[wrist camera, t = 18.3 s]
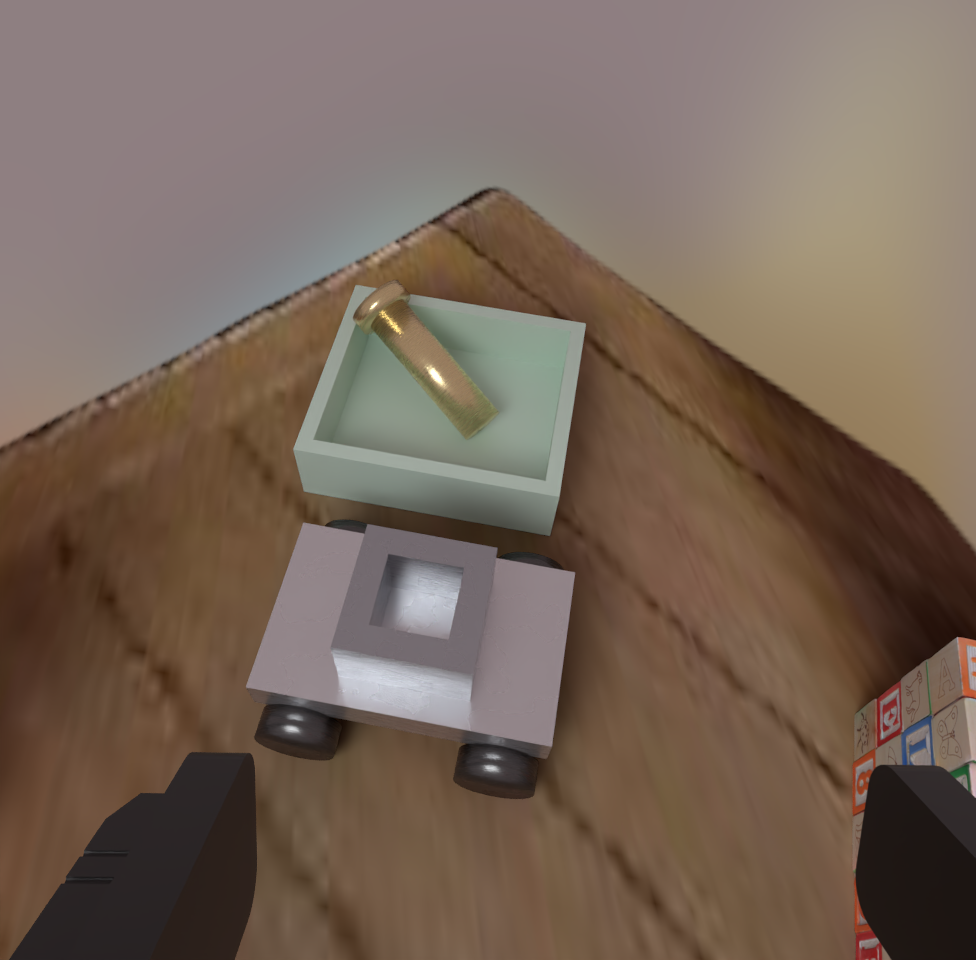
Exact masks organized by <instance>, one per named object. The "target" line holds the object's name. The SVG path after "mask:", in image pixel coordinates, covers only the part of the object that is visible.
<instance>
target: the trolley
mask: <svg viewBox="0 0 976 960" xmlns="http://www.w3.org/2000/svg"><path fill="white" fill-rule="evenodd" d="M497 550H498V548H496V547H490V546H485V545H479V544H474V543H468V542H463V541H457V540H452V539H446V538H441V537H436V536H430V535H425V534H419V533H414V532H408V531H403V530H397V529H392V528H386V527H381V526H375V525H370V524H366V523H362V522H359V521H353V520H335V521H331V522H329V523H327V524H326V525H325V526H319V525H314V524H308V523H303V526H302V529H301V531H300V534H299V537H298V540H297V543H296V546H295V548H294V551H293V554H292V557H291V560H290V563H289V566H288V568H287V571H286V574H285V577H284V580H283V583H282V586H281V588H280V591H279V594H278V597H277V600H276V603H275V606H274V608H273V611H272V614H271V617H270V620H269V623H268V625H267V628H266V631H265V634H264V637H263V640H262V643H261V645H260V648H259V651H258V654H257V657H256V660H255V663H254V665H253V668H252V671H251V674H250V677H249V680H248V683H247V685H246V688H247V690H248V692H249V693H250V695H251V697H252V698H253V700H254V702H258V703H263V704H268V705H267V706H265V707H264V709H263V712H262V715H261V718H260V721H259V724H258V727H257V730H256V733H255V736H254V739H255V740H256V741H257V742H258V743H259V744H261V745H263V746H265V747H267V748H269V749H271V750H274V751H277V752H280V753H283V754H286V755H290V756H294V757H298V758H304V759H310V760H330V759H332V758H333V757H334V754H335V751H336V747H337V743H338V740H339V736H340V733H341V729H342V726H341V724H340V723H339V722H338V721H337V720H335V719H333V718H332V717H334V718H339V719H344V720H349V721H355V722H360V723H365V724H370V725H375V726H380V727H385V728H390V729H395V730H401V731H406V732H411V733H416V734H421V735H426V736H431V737H436V738H441V739H446V740H452V741H457V742H462V743H467V744H466V745H463V746H461V747H460V748H459V752H458V757H457V762H456V767H455V773H454V778H453V780H454V782H455V783H457V784H458V785H460V786H461V787H464V788H466V789H468V790H471V791H474V792H477V793H481V794H485V795H489V796H495V797H501V798H510V799H525V798H530V797H532V796H534V792H535V785H536V778H537V770H538V761H537V760H536V759H535V758H534V757H538V758H544V759H547V757H548V755H549V753H550V750H551V748H552V743H553V735H554V728H555V720H556V713H557V705H558V698H559V690H560V683H561V675H562V668H563V660H564V653H565V645H566V638H567V630H568V623H569V615H570V608H571V600H572V593H573V585H574V578H575V572H570V571H565V570H564V569H563V568H562V566H561V565H560V564H558V563H557V562H556V561H554V560H552V559H550V558H548V557H545V556H542V555H539V554H534V553H527V552H514V553H508V554H505V555H502V556H500V557H499V558H496V557H497ZM532 756H533V757H532Z"/></svg>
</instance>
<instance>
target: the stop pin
mask: <svg viewBox="0 0 976 960" xmlns="http://www.w3.org/2000/svg"><path fill="white" fill-rule="evenodd" d="M410 298H411V295H410V293H409V292H408V291H407V290H406V289H405V288H404V286H403V285H402V284H401V283H400V282H399V281H398V280H393V281H390V282H387V283H385V284H384V285H382V286H380V287H379V288H377V289H376V290H375V291H374V292H372V293H371V294H370V295H369V296H368V297H367V298H366V299H365V300H364V301H363V302H362V303H361V304H360V305H359V307H358V308H357V309H356V311H355V313H354V315H353V321H354V322H355V323H356V324H357V325H358V326H359V328H360V329H361V330H362V331H363V332H364V334H366V335H369V334H372V333H376V334H377V336H378V337H379V338H380V339H381V340H382V341H383V343H384V344H385V345H386V346H387V347H388V349H389V350H390V351H391V352H392V353H393V354H394V356H395V357H396V358H397V359H398V360H399V361H400V363H401V364H402V365H403V366H404V367H405V369H406V370H407V371H408V372H409V373H410V374H411V376H412V377H413V378H414V379H415V380H416V382H417V383H418V384H419V385H420V386H421V387H422V389H423V390H424V391H425V392H426V393H427V394H428V396H429V397H430V398H431V399H432V400H433V402H434V403H435V404H436V405H437V406H438V407H439V409H440V410H441V411H442V412H443V413H444V414H445V416H446V417H447V418H448V419H449V420H450V422H451V423H452V424H453V425H454V426H455V427H456V429H457V430H458V431H459V432H460V433H461V434H462V436H463V437H464V438H465V439H466V440H469V439H470V438H472V437H473V436H475V435H476V434H477V433H478V432H480V431H481V430H482V429H483V428H485V427H486V426H487V425H488V424H489V423H490V422H491V421H492V420H493V419H494V418H495V417H496V416H497V415H498V414H499V411H498V410H497V409H496V408H495V406H494V405H493V404H492V403H491V402H490V401H489V399H488V398H487V397H486V396H485V395H484V393H483V392H482V391H481V390H480V389H479V388H478V386H477V385H476V384H475V383H474V382H473V381H472V379H471V378H470V377H469V376H468V375H467V374H466V372H465V371H464V370H463V369H462V368H461V367H460V365H459V364H458V363H457V362H456V361H455V360H454V358H453V357H452V356H451V355H450V354H449V352H448V351H447V350H446V349H445V348H444V347H443V345H442V344H441V343H440V342H439V341H438V340H437V338H436V337H435V336H434V335H433V334H432V333H431V331H430V330H429V329H428V328H427V327H426V326H425V324H424V323H423V322H422V321H421V320H420V319H419V317H418V316H417V315H416V314H415V313H414V311H413V310H412V309H411V308H410V307H409V306H408V302H409V300H410Z"/></svg>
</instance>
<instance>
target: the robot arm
mask: <svg viewBox="0 0 976 960" xmlns="http://www.w3.org/2000/svg"><path fill="white" fill-rule="evenodd" d="M256 872H257V842H256V798H255V767H254V760H253V757H252V755H251V754H250V753H208V752H192V753H190V754H188V756H187V757H186V758H185V760H184V762H183V763H182V765H181V767H180V768H179V770H178V772H177V773H176V775H175V777H174V778H173V780H172V782H171V783H170V785H169V787H168V788H167V790H166V792H165V793H164V794H159V793H140V794H139V795H138V796H136V797H135V798H134V799H132V800H131V801H130V802H128V803H127V804H126V805H124V806H123V807H121V808H120V809H119V810H117V811H116V812H115V813H113V814H112V815H111V816H109V817H108V818H106V819H105V821H104V822H103V824H102V825H101V827H100V828H99V829H98V831H97V832H96V834H95V835H94V837H93V838H92V840H91V841H90V843H89V844H88V846H87V847H86V848H85V850H84V855H83V857H79V859H78V860H77V862H76V863H75V864H74V866H73V867H72V869H71V870H70V872H69V873H68V875H67V876H66V881H65V884H61V885H60V886H59V888H58V889H57V891H56V892H55V894H54V895H53V897H52V898H51V899H50V901H49V902H48V904H47V905H46V907H45V908H44V910H43V911H42V913H41V914H40V915H39V917H38V918H37V920H36V921H35V923H34V924H33V926H32V927H31V929H30V930H29V932H28V933H27V934H26V936H25V937H24V939H23V940H22V942H21V943H20V945H19V946H18V948H17V949H16V950H15V952H14V953H13V955H12V956H11V958H10V959H9V960H235V957H236V954H237V951H238V948H239V945H240V942H241V939H242V936H243V933H244V931H245V928H246V925H247V922H248V919H249V915H250V912H251V908H252V903H253V897H254V891H255V883H256ZM855 879H856V889H857V895H858V900H859V904H860V907H861V910H862V913H863V915H864V917H865V919H866V922H867V923H868V925H869V927H870V928H871V930H872V931H873V933H874V934H875V936H876V937H877V939H878V940H879V942H880V943H881V945H882V946H883V948H884V949H885V951H886V952H887V954H888V955H889V957H890V958H891V960H976V798H975V797H974V796H973V795H972V794H971V793H970V792H969V791H968V790H967V789H966V788H965V787H964V786H963V785H962V784H961V783H960V782H959V781H958V780H956V779H955V778H954V777H953V776H952V775H951V774H950V773H949V772H948V771H947V770H946V769H944V768H942V767H940V766H936V765H879V766H877V767H876V768H875V769H874V770H873V772H872V773H871V776H870V779H869V784H868V790H867V797H866V803H865V810H864V817H863V823H862V830H861V837H860V843H859V850H858V857H857V863H856V872H855Z"/></svg>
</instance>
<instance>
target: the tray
mask: <svg viewBox="0 0 976 960" xmlns="http://www.w3.org/2000/svg"><path fill="white" fill-rule="evenodd" d="M376 289H377V288H371V287H365V286H359V285H356V286H355V288H354V291H353V294H352V296H351V299H350V302H349V304H348V307H347V309H346V312H345V315H344V317H343V320H342V323H341V325H340V328H339V330H338V333H337V336H336V338H335V341H334V344H333V346H332V349H331V351H330V354H329V357H328V359H327V362H326V365H325V367H324V370H323V372H322V375H321V378H320V380H319V383H318V386H317V388H316V391H315V394H314V396H313V399H312V401H311V404H310V407H309V409H308V412H307V415H306V417H305V420H304V422H303V425H302V428H301V430H300V433H299V436H298V438H297V441H296V443H295V446H294V449H293V450H294V454H295V458H296V462H297V466H298V470H299V474H300V478H301V482H302V486H303V490H304V492H309V493H315V494H320V495H326V496H331V497H337V498H342V499H348V500H353V501H359V502H364V503H370V504H375V505H381V506H387V507H392V508H398V509H403V510H409V511H414V512H420V513H425V514H431V515H436V516H442V517H447V518H453V519H458V520H464V521H469V522H475V523H480V524H486V525H491V526H497V527H502V528H508V529H513V530H519V531H524V532H530V533H535V534H541V535H546V536H550V534H551V530H552V526H553V522H554V518H555V513H556V509H557V505H558V501H559V496H560V490H561V483H562V477H563V470H564V464H565V457H566V451H567V444H568V438H569V431H570V425H571V418H572V412H573V405H574V399H575V392H576V386H577V379H578V373H579V366H580V360H581V353H582V347H583V340H584V334H585V327H586V323H580V322H574V321H568V320H562V319H556V318H550V317H544V316H538V315H532V314H526V313H520V312H514V311H509V310H503V309H497V308H491V307H485V306H479V305H473V304H467V303H461V302H455V301H449V300H443V299H437V298H431V297H425V296H419V295H413V294H410V295H411V298H410V300H409V302H408V306H409V307H410V308H411V309H412V310H413V311H414V313H415V314H416V315H417V316H418V317H419V319H420V320H421V321H422V322H423V323H424V324H425V326H426V327H427V328H428V329H429V330H430V331H431V333H432V334H433V335H434V336H435V337H436V338H437V340H438V341H439V342H440V343H441V344H442V345H443V347H444V348H445V349H446V350H447V351H448V352H449V354H450V355H451V356H452V357H453V358H454V360H455V361H456V362H457V363H458V364H459V365H460V367H461V368H462V369H463V370H464V371H465V372H466V374H467V375H468V376H469V377H470V378H471V379H472V381H473V382H474V383H475V384H476V385H477V386H478V388H479V389H480V390H481V391H482V392H483V393H484V395H485V396H486V397H487V398H488V399H489V401H490V402H491V403H492V404H493V405H494V406H495V408H496V409H497V410H498V411H499V414H498V415H497V416H496V417H495V418H494V419H493V420H492V421H491V422H490V423H489V424H488V425H487V426H486V427H485V428H483V429H482V430H481V431H480V432H478V433H477V434H476V435H475V436H473V437H472V438H470V439H469V440H466V439H465V438H464V437H463V436H462V434H461V433H460V432H459V431H458V430H457V429H456V427H455V426H454V425H453V424H452V423H451V422H450V420H449V419H448V418H447V417H446V416H445V414H444V413H443V412H442V411H441V410H440V409H439V407H438V406H437V405H436V404H435V403H434V402H433V400H432V399H431V398H430V397H429V396H428V394H427V393H426V392H425V391H424V390H423V389H422V387H421V386H420V385H419V384H418V383H417V382H416V380H415V379H414V378H413V377H412V376H411V374H410V373H409V372H408V371H407V370H406V369H405V367H404V366H403V365H402V364H401V363H400V361H399V360H398V359H397V358H396V357H395V356H394V354H393V353H392V352H391V351H390V350H389V349H388V347H387V346H386V345H385V344H384V343H383V341H382V340H381V339H380V338H379V337H378V336H377V334H376V333H372V334H369V335H366V334H364V332H363V331H362V330H361V329H360V328H359V326H358V325H357V324H356V323H355V322H354V321H353V315H354V313H355V311H356V309H357V308H358V307H359V305H360V304H361V303H362V302H363V301H364V300H365V299H366V298H367V297H368V296H369V295H370V294H371V293H372V292H374V291H375V290H376Z"/></svg>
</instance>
